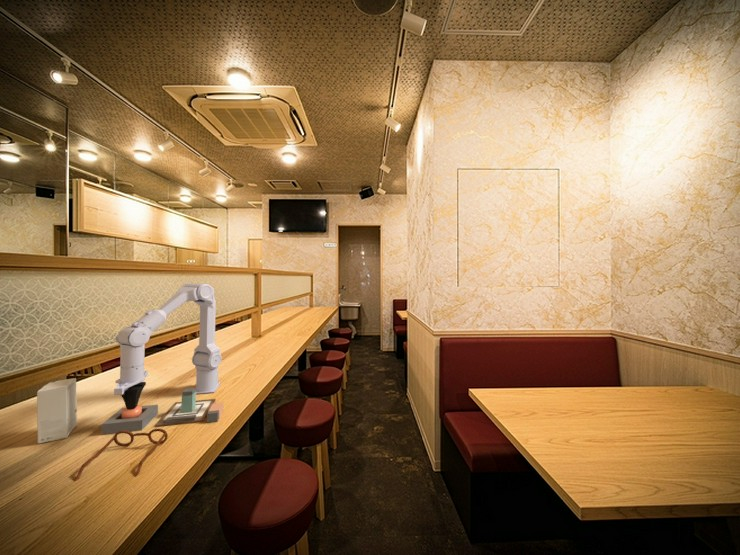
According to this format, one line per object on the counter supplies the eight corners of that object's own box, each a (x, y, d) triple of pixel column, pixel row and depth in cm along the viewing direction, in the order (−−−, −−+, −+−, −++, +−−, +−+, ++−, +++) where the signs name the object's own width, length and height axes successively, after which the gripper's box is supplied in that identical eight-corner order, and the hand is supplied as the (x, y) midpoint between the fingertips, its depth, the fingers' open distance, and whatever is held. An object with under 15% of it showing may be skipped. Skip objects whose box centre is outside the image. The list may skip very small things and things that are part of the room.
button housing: (122, 416, 89) (122, 407, 89) (157, 413, 92) (158, 404, 92) (101, 434, 80) (101, 424, 80) (142, 430, 82) (142, 420, 82)
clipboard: (175, 404, 99) (175, 399, 99) (215, 400, 102) (215, 396, 102) (155, 426, 84) (155, 421, 84) (202, 421, 88) (202, 416, 88)
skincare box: (67, 438, 77) (67, 386, 77) (35, 445, 74) (35, 391, 74) (77, 424, 84) (78, 376, 84) (48, 429, 81) (49, 380, 81)
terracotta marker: (212, 412, 94) (213, 403, 94) (223, 411, 95) (223, 402, 95) (206, 423, 87) (207, 413, 87) (217, 422, 88) (218, 412, 88)
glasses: (168, 443, 77) (168, 426, 77) (136, 478, 64) (137, 457, 64) (115, 447, 75) (116, 429, 75) (72, 483, 62) (72, 461, 62)
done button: (127, 415, 87) (127, 405, 87) (144, 413, 89) (144, 404, 89) (117, 423, 83) (118, 413, 83) (136, 421, 84) (136, 411, 84)
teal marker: (185, 408, 95) (185, 388, 94) (195, 407, 95) (195, 387, 95) (181, 412, 91) (181, 392, 91) (192, 411, 92) (192, 391, 92)
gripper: (130, 358, 91) (129, 398, 92) (101, 374, 77) (100, 421, 78) (155, 357, 93) (154, 396, 94) (131, 372, 79) (130, 418, 80)
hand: (131, 407), depth 86 cm, fingers closed
